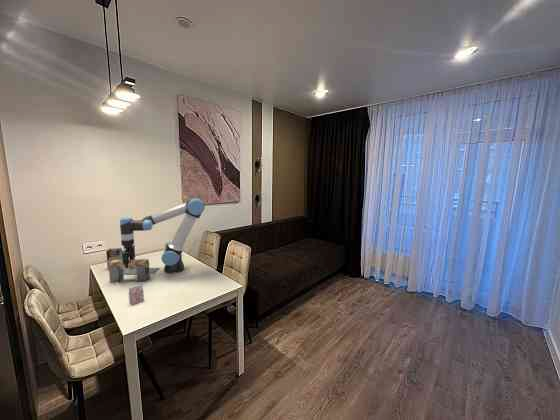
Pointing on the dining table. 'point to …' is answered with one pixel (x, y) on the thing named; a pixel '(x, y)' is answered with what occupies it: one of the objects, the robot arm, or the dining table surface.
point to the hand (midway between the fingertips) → (129, 270)
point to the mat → (134, 271)
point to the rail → (132, 263)
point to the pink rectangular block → (136, 294)
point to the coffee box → (114, 255)
